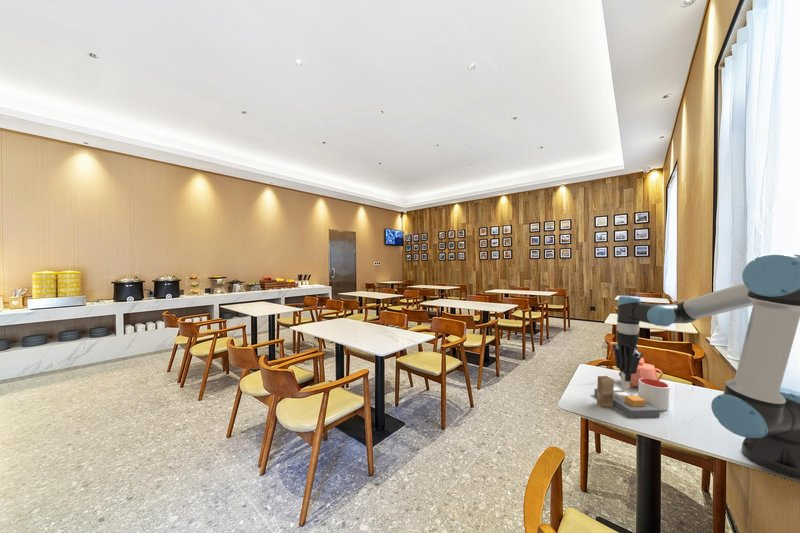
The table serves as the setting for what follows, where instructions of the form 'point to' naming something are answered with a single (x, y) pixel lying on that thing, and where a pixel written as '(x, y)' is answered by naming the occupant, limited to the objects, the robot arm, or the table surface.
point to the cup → (654, 393)
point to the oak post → (605, 392)
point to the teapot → (644, 373)
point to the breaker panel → (628, 410)
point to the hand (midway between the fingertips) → (625, 387)
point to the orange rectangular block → (635, 401)
